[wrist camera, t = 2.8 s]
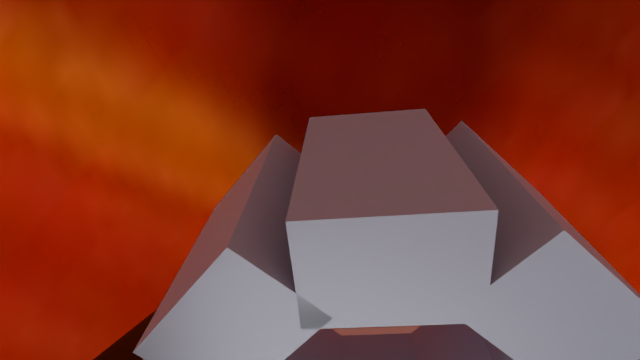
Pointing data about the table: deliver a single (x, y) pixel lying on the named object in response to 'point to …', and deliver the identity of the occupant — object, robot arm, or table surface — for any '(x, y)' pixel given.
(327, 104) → the table surface
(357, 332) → the gear board
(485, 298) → the slate gear
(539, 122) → the table surface
